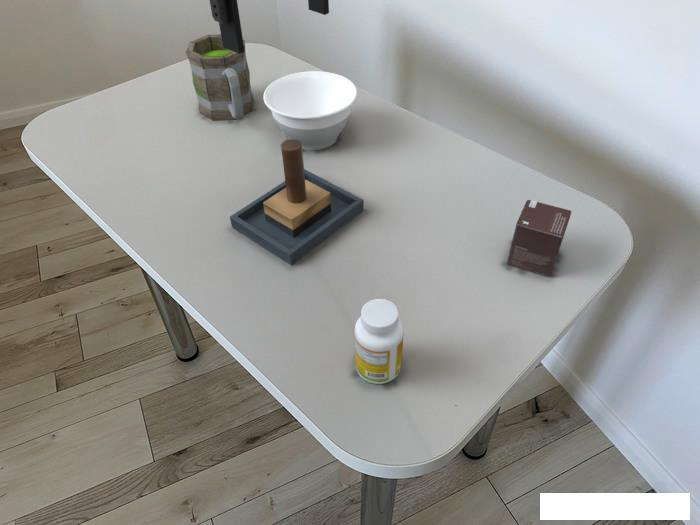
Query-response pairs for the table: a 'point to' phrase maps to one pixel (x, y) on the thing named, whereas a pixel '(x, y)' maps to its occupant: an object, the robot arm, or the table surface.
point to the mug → (220, 79)
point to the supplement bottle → (378, 342)
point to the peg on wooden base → (296, 195)
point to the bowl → (311, 106)
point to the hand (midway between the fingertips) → (278, 29)
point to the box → (538, 237)
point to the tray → (293, 249)
